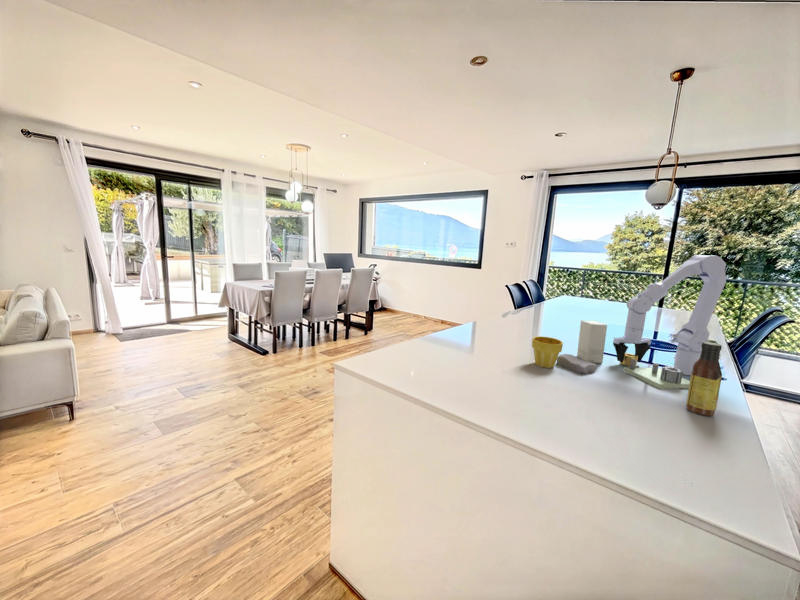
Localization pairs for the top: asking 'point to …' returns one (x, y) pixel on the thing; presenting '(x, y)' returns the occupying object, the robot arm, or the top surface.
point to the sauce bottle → (705, 381)
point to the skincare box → (592, 341)
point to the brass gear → (629, 359)
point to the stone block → (575, 364)
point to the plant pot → (546, 351)
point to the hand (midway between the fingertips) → (628, 361)
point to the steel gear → (671, 375)
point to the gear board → (654, 376)
